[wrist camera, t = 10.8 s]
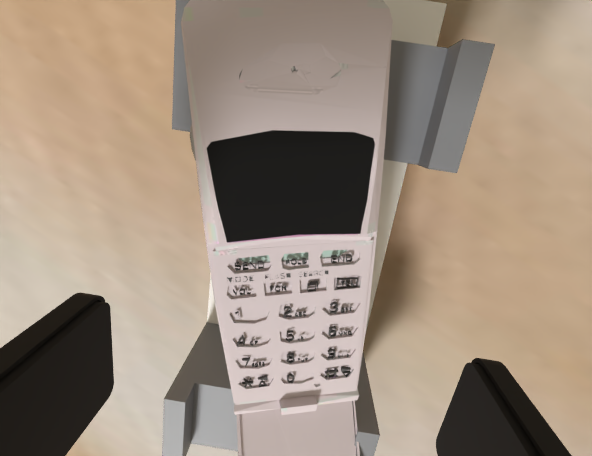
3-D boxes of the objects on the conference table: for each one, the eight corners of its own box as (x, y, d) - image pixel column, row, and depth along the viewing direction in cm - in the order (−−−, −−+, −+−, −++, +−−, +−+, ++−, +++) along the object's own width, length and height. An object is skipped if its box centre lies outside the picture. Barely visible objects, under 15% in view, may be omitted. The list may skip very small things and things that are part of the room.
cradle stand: (237, -20, 16) (179, -125, 9) (439, 10, 16) (530, -75, 9) (205, 396, 24) (160, 503, 17) (340, 418, 24) (349, 536, 17)
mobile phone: (241, 604, 15) (52, -289, 4) (244, 461, 20) (169, -79, 9) (373, 580, 15) (539, -246, 4) (342, 448, 20) (381, -73, 10)
